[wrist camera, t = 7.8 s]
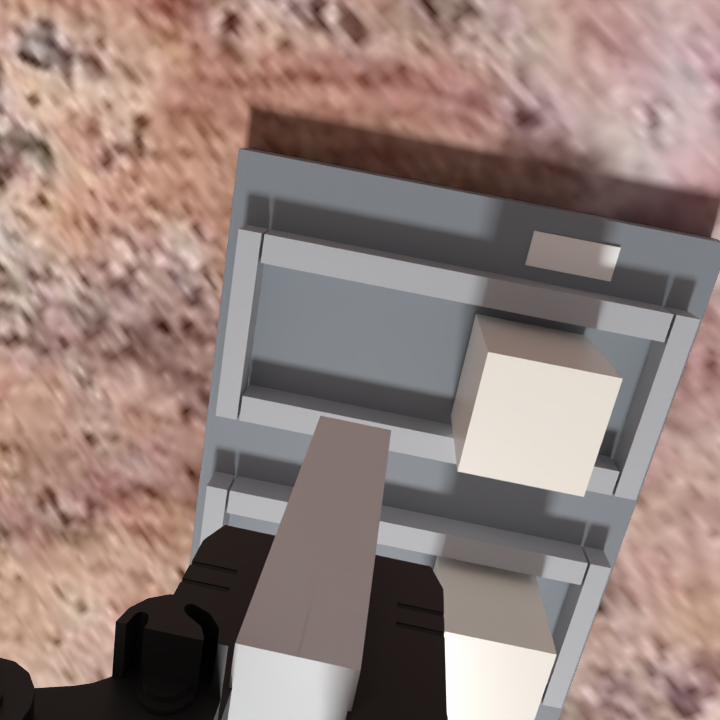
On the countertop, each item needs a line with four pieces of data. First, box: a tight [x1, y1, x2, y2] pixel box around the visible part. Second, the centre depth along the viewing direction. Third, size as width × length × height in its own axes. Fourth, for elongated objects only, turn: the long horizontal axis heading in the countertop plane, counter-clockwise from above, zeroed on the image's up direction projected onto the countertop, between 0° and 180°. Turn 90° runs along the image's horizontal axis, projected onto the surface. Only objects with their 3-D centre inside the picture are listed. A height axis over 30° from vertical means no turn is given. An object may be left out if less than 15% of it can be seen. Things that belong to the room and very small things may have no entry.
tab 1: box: [451, 314, 623, 497], centre depth 23 cm, size 4×4×4 cm
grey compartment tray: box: [190, 148, 720, 720], centre depth 27 cm, size 22×17×3 cm
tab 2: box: [433, 556, 557, 720], centre depth 26 cm, size 4×4×4 cm
